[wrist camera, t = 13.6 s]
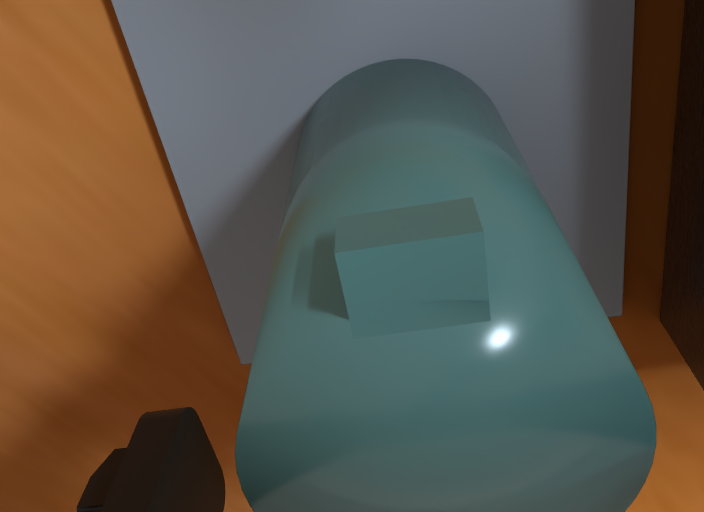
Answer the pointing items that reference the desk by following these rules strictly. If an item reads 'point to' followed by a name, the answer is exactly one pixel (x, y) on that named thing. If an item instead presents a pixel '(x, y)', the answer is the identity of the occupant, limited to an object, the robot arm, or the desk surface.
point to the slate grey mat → (354, 53)
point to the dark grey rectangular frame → (687, 203)
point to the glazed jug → (431, 323)
